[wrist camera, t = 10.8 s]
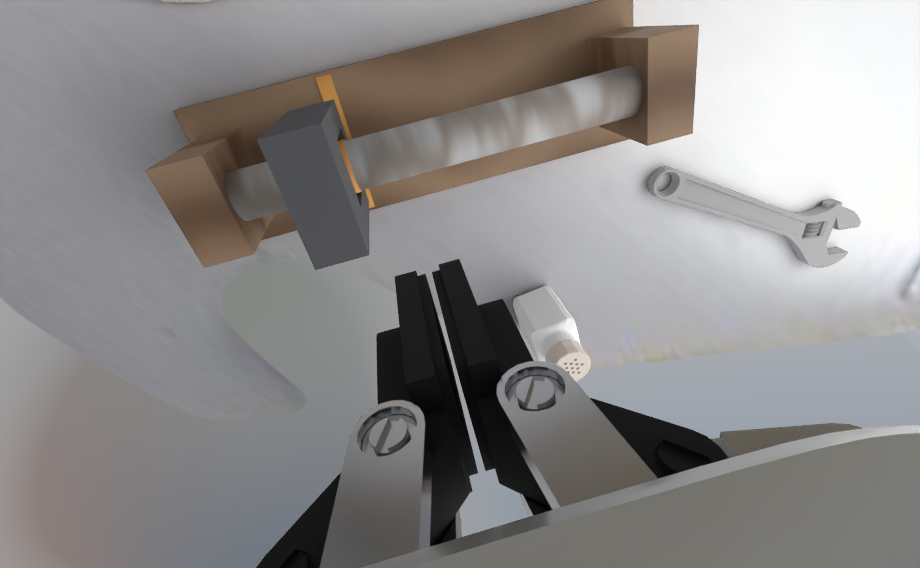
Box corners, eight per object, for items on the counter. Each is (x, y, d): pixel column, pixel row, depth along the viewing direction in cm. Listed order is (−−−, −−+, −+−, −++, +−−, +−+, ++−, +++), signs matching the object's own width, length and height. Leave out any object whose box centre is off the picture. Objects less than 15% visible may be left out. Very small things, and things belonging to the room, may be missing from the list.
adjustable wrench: (637, 189, 40) (648, 195, 38) (679, 119, 37) (692, 123, 36) (815, 266, 48) (830, 274, 46) (859, 213, 45) (876, 219, 44)
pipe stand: (178, 108, 30) (112, 134, 22) (625, -7, 31) (710, -21, 23) (246, 239, 35) (212, 297, 27) (627, 135, 36) (697, 162, 29)
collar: (287, 111, 28) (257, 140, 20) (334, 99, 28) (320, 123, 20) (328, 212, 31) (315, 270, 24) (369, 201, 32) (369, 255, 24)
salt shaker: (548, 281, 42) (591, 340, 34) (556, 313, 44) (599, 376, 36) (509, 296, 42) (543, 359, 34) (519, 327, 44) (553, 394, 36)
